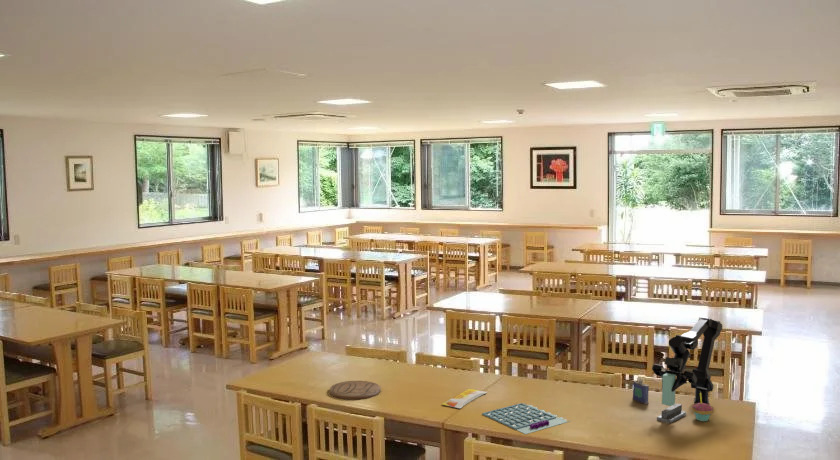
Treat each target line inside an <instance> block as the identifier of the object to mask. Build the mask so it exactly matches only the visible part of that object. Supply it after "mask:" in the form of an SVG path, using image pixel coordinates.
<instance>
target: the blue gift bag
mask: <svg viewBox="0 0 840 460" xmlns="http://www.w3.org/2000/svg"><path fill="white" fill-rule="evenodd" d="M643 381H644V380H643V379H638V380H633V387H632V388H633V389H632V400H633V401H634V402H635V403H636V402H637V403H639V404H642V405H645V406H646V405H648V404H649V387H650V385H649V384H646V383H643Z"/></svg>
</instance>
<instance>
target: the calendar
mask: <svg viewBox="0 0 840 460" xmlns="http://www.w3.org/2000/svg"><path fill="white" fill-rule="evenodd" d="M481 414H482V415H483V416H485V417H487V418H489V419H491V420H493V421H496V422H498V423H500V424H502V425H505V426H506V427H509V428H511V429H513V430H515V431H518V432H520V433H522V434H524V435H529V434H531V433H536V432H538V431H542V430H546V429H549V428H552V427H555V426H560V425H563V424H566V423H570V422H571V420H569V421H568V419H566V418H564V417H563V416H562V417H561V416H558V415H557V414H553V413H551V412H550V411H548V412H546V411H545V410H544V409H538V407H537V406H533V405H532V404H527V403H522V402H520V403H516V404H513V405H509V406H505V407H501V408H497V409H492V410H490V411H485V412H482V413H481Z"/></svg>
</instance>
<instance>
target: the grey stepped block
mask: <svg viewBox="0 0 840 460" xmlns="http://www.w3.org/2000/svg"><path fill="white" fill-rule="evenodd" d="M685 416H687V411H684V410H683V404H680V403H676V402H675V404H674V405H672V406H668V407H666V408H665V409H663V410H661V414H660V415H657V417H656V420H657V421H659V422H662V423H666V424H669V425H670V424H672V423H674V422H676V421H677V420H680V419H682V418H683V417H685Z"/></svg>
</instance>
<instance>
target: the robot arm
mask: <svg viewBox="0 0 840 460" xmlns="http://www.w3.org/2000/svg"><path fill="white" fill-rule="evenodd" d="M722 331H723V324H722V323H721V321H720V320H715V319H712V318H710V317H705V316H700V317H698V320H697V322H696V323H695V324H694V325H693V327H691V329H690V330H689V331H687V332H683V334H681V335H679V334H676V335H675V336H674V337H671V338H670V339H669V340H668V345H669V347H670V349H671V351H672V352H673V353H674V355H673V357H670V356H666V357H665V359H664V365H666V368H665V367H664V366H663V365H661V364H659V363H654V364H652V366H651V369H652V372H653V373H654V375H655V376H659V377H661V385H662V384H663V375H664V374H666V373H669V374H674V375H676V381H675V383H674V385H673V387H672V390H671V391H672V392H673V391H675V392H676V390H677V389H679V388H680V387H681V386H683V385H685V384H687V383H689V384H690V388H691V389H695V391H694V392H695V393H694V395H695V396H694V398H693V402H694V404H697V403H700V392H701V396H702V403H705V404H709V405H710V398H709V392H713V391H714V384H713V381H712V379H711V378H712V376H711V372H710V370H709V369H710V363H711V359H712V355H713V350H714V346H715V340H717V338H718V337H720V335H721V333H722ZM702 335H703V342H702V345H701V350H700V355H699V359H698V364H697V367H695V368H694V369H692V371H691V370H690V371H689V370H684V369H687V362H688V360H689V359H691V358H692V356H691V351H689V350H692V351H694V350H696V348H698V347H697V346H698V345H699V343H698V342H699V341H698V340H699V339H700V338H701V336H702Z"/></svg>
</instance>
